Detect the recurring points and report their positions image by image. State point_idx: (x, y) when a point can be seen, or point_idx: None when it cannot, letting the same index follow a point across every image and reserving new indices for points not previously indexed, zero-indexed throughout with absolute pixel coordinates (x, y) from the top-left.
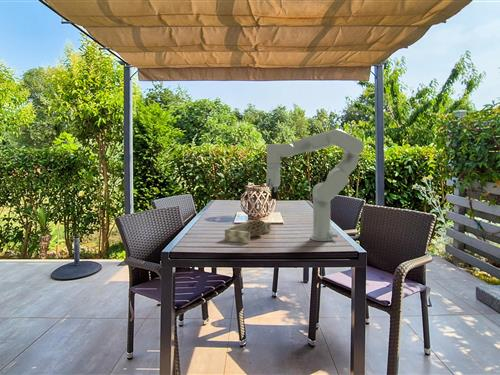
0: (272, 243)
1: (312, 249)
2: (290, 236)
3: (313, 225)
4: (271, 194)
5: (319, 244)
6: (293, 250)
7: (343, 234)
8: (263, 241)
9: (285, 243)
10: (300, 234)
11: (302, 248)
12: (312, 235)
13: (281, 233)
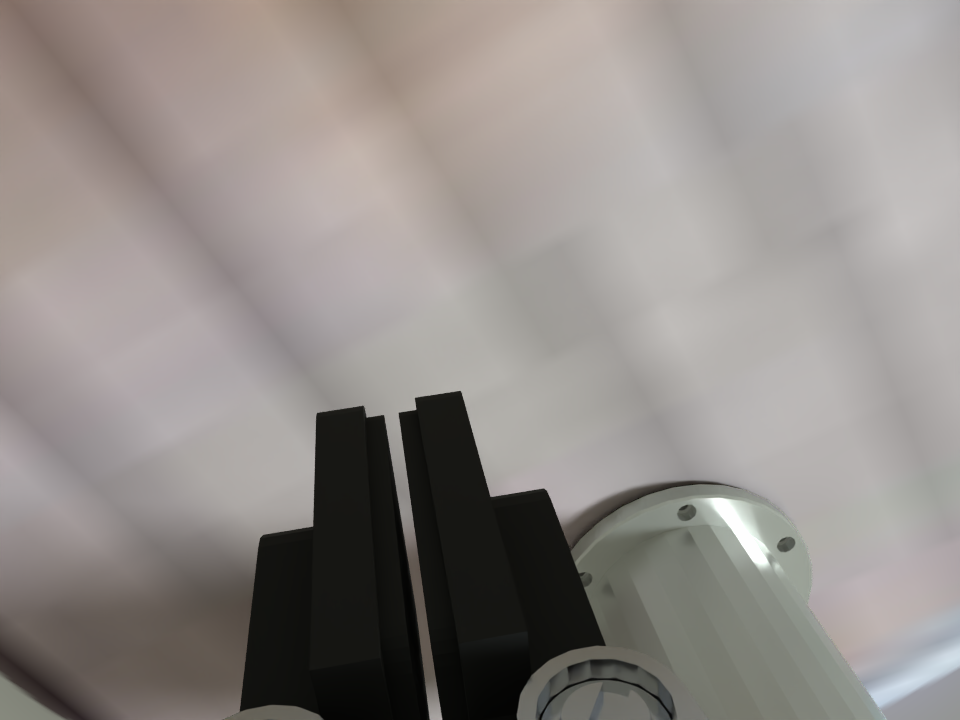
0: (108, 228)
1: (205, 701)
2: (620, 247)
3: (677, 663)
4: (315, 583)
5: (431, 670)
6: (23, 589)
7: (945, 670)
8: (108, 36)
9: (232, 375)
10: (787, 308)
11: (168, 620)
12: (695, 514)
13: (744, 26)
